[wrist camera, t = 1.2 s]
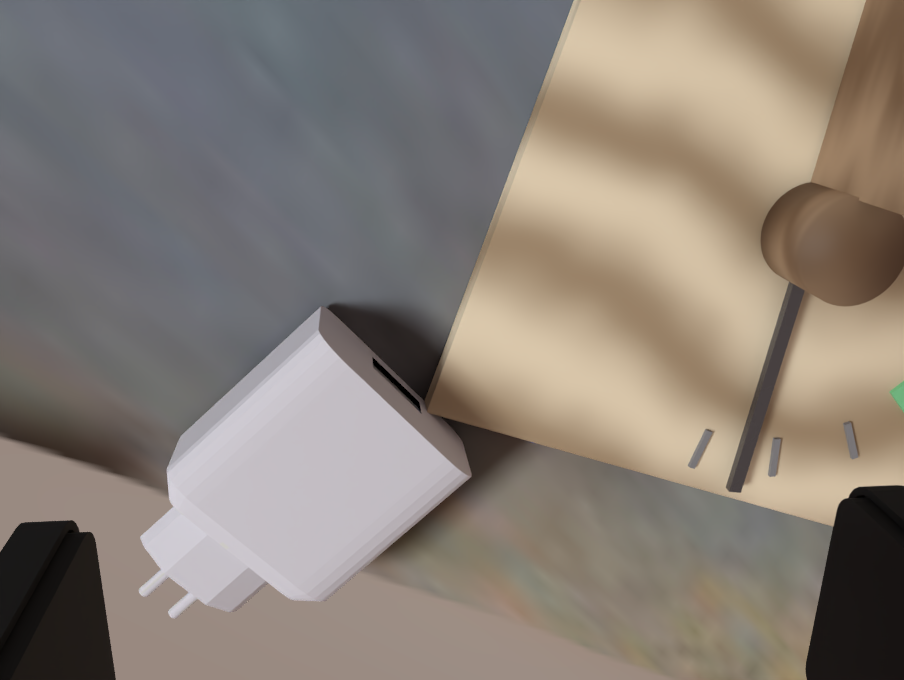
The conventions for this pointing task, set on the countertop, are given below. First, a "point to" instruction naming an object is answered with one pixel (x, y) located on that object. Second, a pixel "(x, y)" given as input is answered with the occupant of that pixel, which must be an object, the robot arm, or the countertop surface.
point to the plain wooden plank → (841, 203)
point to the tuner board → (677, 262)
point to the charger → (300, 475)
